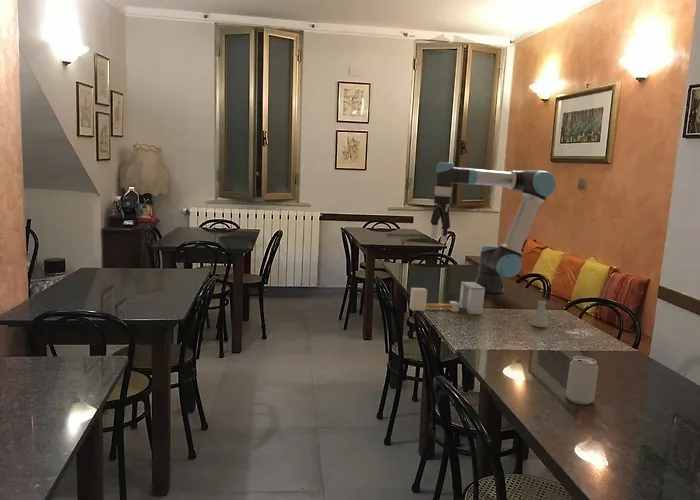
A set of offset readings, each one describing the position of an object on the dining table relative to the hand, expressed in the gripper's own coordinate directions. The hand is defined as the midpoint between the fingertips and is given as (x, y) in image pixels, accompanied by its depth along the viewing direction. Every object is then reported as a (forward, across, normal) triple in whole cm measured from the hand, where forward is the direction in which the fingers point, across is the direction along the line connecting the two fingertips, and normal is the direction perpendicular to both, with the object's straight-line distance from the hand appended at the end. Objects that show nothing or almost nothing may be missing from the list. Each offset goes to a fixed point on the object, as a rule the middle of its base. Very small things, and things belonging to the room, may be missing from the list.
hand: (438, 240), depth 284 cm
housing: (+27, -27, -8) cm, 39 cm away
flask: (+27, -49, -29) cm, 63 cm away
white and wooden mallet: (+27, -27, +9) cm, 39 cm away
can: (+27, -124, 0) cm, 127 cm away
